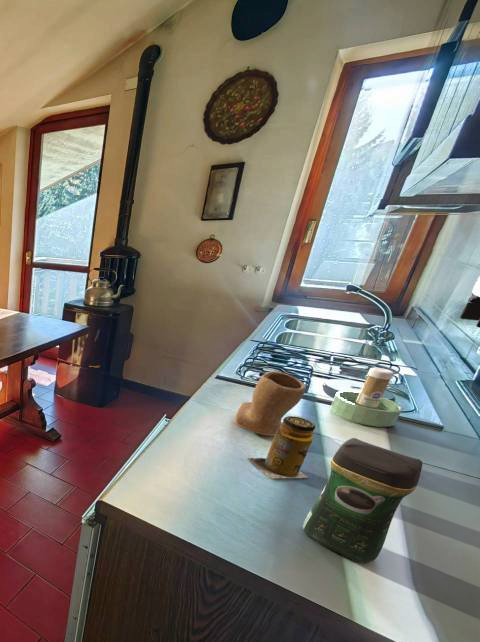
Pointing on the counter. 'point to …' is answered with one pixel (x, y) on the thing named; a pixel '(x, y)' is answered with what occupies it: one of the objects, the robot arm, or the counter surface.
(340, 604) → the counter surface
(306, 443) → the condiment
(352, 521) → the coffee jar
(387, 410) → the bowl
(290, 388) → the brown boot planter
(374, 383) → the sprinkles bottle
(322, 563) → the counter surface
